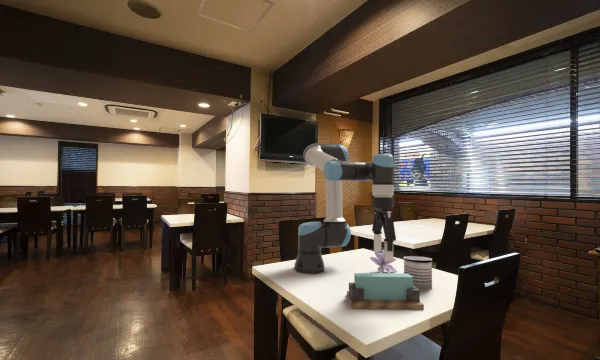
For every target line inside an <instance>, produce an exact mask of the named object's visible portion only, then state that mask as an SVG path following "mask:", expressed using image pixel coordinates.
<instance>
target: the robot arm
mask: <svg viewBox="0 0 600 360" xmlns="http://www.w3.org/2000/svg"><path fill="white" fill-rule="evenodd" d="M303 160H304V161H305V163H307V164H308V165H309V166H313V167H316V168H317V169H319V170H320V171H322V172H323V176H324V178H325V213H326V217H325V219H323V223H322V222H321V221H309V222H303V223H301V224H299V226H298V233H297V242H298V243H297V250H298V251H297V252H298V253H297V255H296V259H295V262H294V271H296V272H298V273H302V274H319V273H322V272H325V261H324V259H323V256H322V249H324V248H340V247H341V248H342V247H345V246H347V245H348V244H349V242H350V240H351V233H352V231H351V230H352V229H351V227H350V226H349V224H348V223H347V221H346V219H345V218H344V215H343V210H344V209H343V182H344V181H345V182H346V181H350V182H351V181H352V182H366V183H367V182H372V185H371V186H372V187H371V195H372V196H373V197H372V198H371V199H372V202H371V203H372V207H373V208H374V212H373V213H374V214H373V222H372V229H371V231H372V232H373V253H374V252H378V253H381V252H382V235H384V239H383V242H384V250H385V261H393V258H394V242H395V241H397V237H396V236H397V235H396V231H395V223H394V216H393V215H394V214H393V211H390V209H393V208H394V207H395V198H394V197H393V196H394V195H395V193H394V192H395V189H396V188H395V187H394V184H395V181H394V180H395V178H394V177H395V174H394V173H395V164H394V163H395V161H394V156H393V155H392V154H389V153H380V154H379V153H378V154H377V153H376V154H374V155H373V156H372V159H371V161H366V162H365V161H349V152H348V149H347V148H346V146H344V144H338V143H320V142H315V143H312V144H310V145H308V146H306V148H305V149H304V150H303ZM382 229H383V232H382Z"/></svg>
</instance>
